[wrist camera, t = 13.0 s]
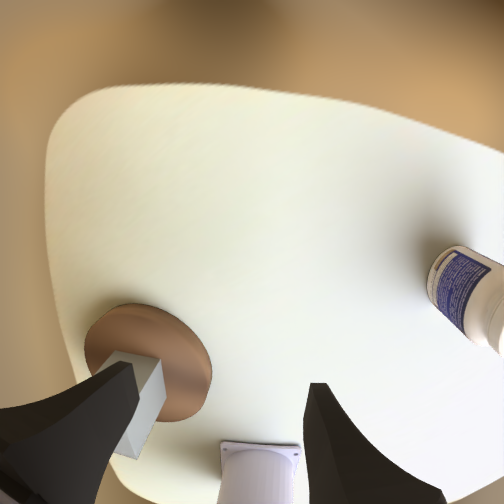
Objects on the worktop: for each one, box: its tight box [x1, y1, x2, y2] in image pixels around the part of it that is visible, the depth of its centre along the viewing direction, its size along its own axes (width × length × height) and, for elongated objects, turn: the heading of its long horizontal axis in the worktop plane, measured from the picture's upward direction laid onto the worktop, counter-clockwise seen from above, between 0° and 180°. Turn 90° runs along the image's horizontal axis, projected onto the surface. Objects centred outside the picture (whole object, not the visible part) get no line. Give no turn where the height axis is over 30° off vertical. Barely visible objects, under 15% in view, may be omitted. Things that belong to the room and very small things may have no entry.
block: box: [94, 350, 167, 459], centre depth 18 cm, size 4×4×7 cm
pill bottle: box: [427, 246, 504, 358], centre depth 15 cm, size 5×5×9 cm
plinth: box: [84, 304, 212, 422], centre depth 22 cm, size 11×11×2 cm
